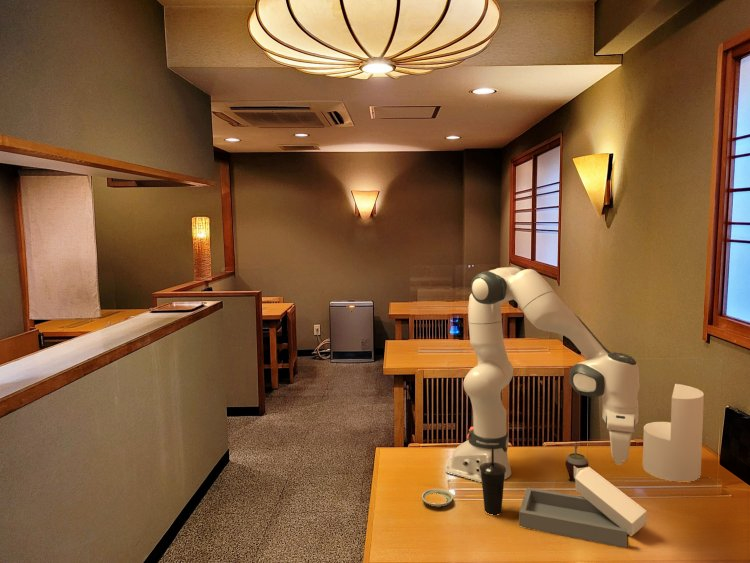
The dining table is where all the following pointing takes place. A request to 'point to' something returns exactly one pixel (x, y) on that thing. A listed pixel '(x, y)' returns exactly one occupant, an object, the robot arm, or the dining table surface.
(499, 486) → the drinking cup
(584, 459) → the mate gourd
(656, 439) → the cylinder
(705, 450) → the dining table surface
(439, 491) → the saucer
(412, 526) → the dining table surface
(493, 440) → the robot arm
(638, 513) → the milk
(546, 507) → the trough
